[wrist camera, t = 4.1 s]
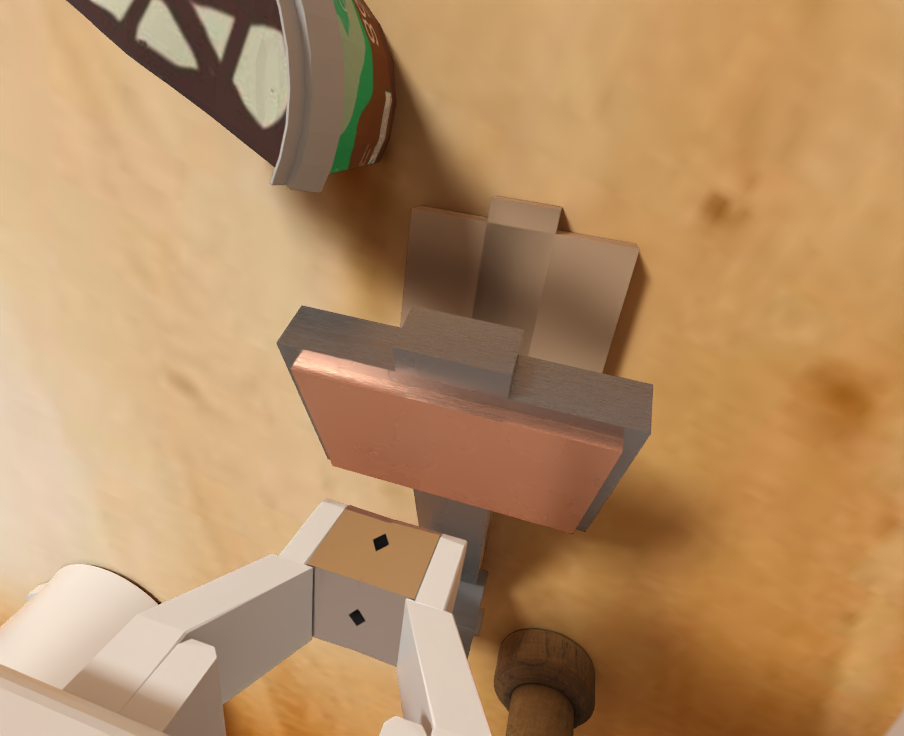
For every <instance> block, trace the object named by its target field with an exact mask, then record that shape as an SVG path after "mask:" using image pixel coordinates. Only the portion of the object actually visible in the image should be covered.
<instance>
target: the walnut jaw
mask: <svg viewBox="0 0 904 736" xmlns="http://www.w3.org/2000/svg"><path fill="white" fill-rule="evenodd" d="M561 211H562V207H560V206H554V205H548V204H542V203H536V202H530V201H524V200H518V199H512V198H507V197H501V196H495V197H493V198H491V201H490V207H489V214H488V217H482V216H477V215H471V214H466V213H460V212H454V211H449V210H443V209H438V208H432V207H426V206H419V207H415V208H411V218H410V229H409V239H408V250H407V260H406V271H405V281H404V291H403V302H402V312H401V323H400V328H402V326H403V324H404V322H405V320H406V318H407V316H408V314H409V312H410V310H411V308H412V306H417V307H421V308H426V309H430V310H435V311H440V312H444V313H449V314H454V315H458V316H463V317H467V318H472V319H477V320H481V321H486V322H491V323H495V324H500V325H504V326H509V327H514V328H518V329H523V330H524V334H523V339H522V345H521V350H520V355H524V356H528V357H532V358H537V359H541V360H546V361H550V362H555V363H559V364H563V365H568V366H572V367H577V368H581V369H586V370H590V371H595V372H599V373H602V372H603V369H604V365H605V362H606V359H607V355H608V352H609V349H610V346H611V342H612V339H613V336H614V332H615V329H616V326H617V323H618V319H619V316H620V313H621V309H622V306H623V303H624V299H625V296H626V293H627V290H628V286H629V283H630V280H631V276H632V273H633V270H634V266H635V263H636V260H637V257H638V253H639V250H640V249H639V248H638V246H637V244H634V243H628V242H623V241H617V240H612V239H606V238H600V237H595V236H589V235H584V234H578V233H572V232H567V231H561V230H557V229H558V225H559V220H560V216H561ZM493 513H494V512H493V511H491V514H490V519H489V525H488V530H487V536H486V541H485V547H484V552H485V548H486V544H487V539H488V535H489V530H490V526H491V521H492V517H493ZM484 552H483V557H484ZM482 561H483V558H482ZM481 566H482V562H481ZM481 566H480V570H479V574H478V578H477V582H476V585H473V584H470V583H466V582H463V581H460V583H459V587H458V591H457V595H456V600H455V604H454V608H453V612H452V614H453V616H454V619H455V622H456V625H457V628H458V631H459V635H460V638H461V641H462V644H463V647H464V650H465V654H466V657H467V659H468V655H469V651H470V646H471V642H472V638H473V635H476V636H479V632H480V628H481V623H482V619H483V615H484V609H481V608H480V604H481V600H482V596H483V591H484V587H485V583H486V579H487V574H488V572H487V571H484V570H481Z"/></svg>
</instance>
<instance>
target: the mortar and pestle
mask: <svg viewBox="0 0 904 736" xmlns="http://www.w3.org/2000/svg"><path fill="white" fill-rule="evenodd" d="M494 688H495V692H496V694H497V696H498V698H499V700H500V701H501V702H502V704H503V705H504V706H505V707H506V709H507V710H508V712H509V716H508V723H507V730H506V736H573V729H575V728H576V727H577V726H579V725H581V724H583V723H585V722H586V721H587V720H588V719H589V718H590V717H591V715H592V713H593V711H594V705H595V672H594V667H593V665H592V662H591V660H590V658H589V656H588V655H587V654H586V652H585V651H584V650H583V649H582V648H581V647H580V646H578V645H577V644H576V643H575V642H573V641H571V640H570V639H568V638H566V637H564V636H562V635H560V634H557V633H555V632H551V631H547V630H540V629H527V630H526V629H525V630H520V631H517V632H514V633H512V634H510V635H509V636H507V637H506V638H505V640H504V641H503V642H502V644H501V646H500V649H499V654H498V660H497V666H496V671H495V676H494Z"/></svg>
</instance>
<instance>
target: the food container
mask: <svg viewBox="0 0 904 736" xmlns="http://www.w3.org/2000/svg"><path fill="white" fill-rule="evenodd" d="M67 1H68V2H69V3H70V4H71V5H72V6H74V7H75V8H76V9H77V10H78V11H79V12H81V13H82V14H83V15H84V16H85V17H86V18H87V19H88V20H89V21H91V22H92V23H93V24H94V25H95V26H96V27H97V28H98V29H99V30H100V31H101V32H102V33H104V34H105V35H106V36H107V37H108V38H109V39H110V40H112V41H113V42H114V43H115V44H116V45H117V46H118V47H120V48H121V49H122V50H123V51H124V52H125V53H126V54H127V55H129V56H130V57H131V58H133V59H134V60H135V61H137V62H138V63H139V64H141V65H142V66H144V67H145V68H146V69H148V70H149V71H150V72H152V73H153V74H154V75H156V76H157V77H159V78H160V79H161V80H163V81H164V82H166V83H167V84H169V85H170V86H171V87H173V88H174V89H175V90H177V91H178V92H179V93H181V94H182V95H183V96H185V97H186V98H187V99H189V100H190V101H191V102H193V103H194V104H195V105H197V106H198V107H199V108H201V109H202V110H203V111H205V112H206V113H207V114H209V115H210V116H211V117H212V118H214V119H215V120H216V121H217V122H219V123H220V124H221V125H222V126H224V127H225V128H226V129H227V130H229V131H230V132H231V133H232V134H234V135H235V136H236V137H237V138H239V139H240V140H241V141H242V142H244V143H245V144H246V145H247V146H249V147H250V148H251V149H253V150H254V151H255V152H256V153H258V154H259V155H260V156H261V157H263V158H264V159H265V160H266V161H268V162H269V163H270V164H271V165H273V166H274V167H275V169H274V172H273V175H272V178H271V180H270V183H269V184H271V185H286V186H287V187H288V188H290V189H291V190H299V191H308V192H318V193H321V192H322V189H323V187H324V185H325V182H326V180H327V177H328V175H329V174H331V173H335V172H339V171H344V170H348V169H352V168H356V167H360V166H365V165H369V164H373V163H377V162H379V161H380V158H381V156H382V154H383V152H384V150H385V148H386V145H387V143H388V141H389V139H390V134H391V128H392V123H393V117H394V112H395V106H396V91H395V78H394V65H393V60H392V57H391V54H390V52H389V49H388V46H387V43H386V40H385V37H384V34H383V31H382V29H381V26H380V24H379V22H378V21H377V19H376V18H375V16H374V15H373V13H372V12H371V11H370V9H369V8H368V6H367V5H366V3H365V2H364V0H67Z"/></svg>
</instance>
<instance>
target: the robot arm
mask: <svg viewBox="0 0 904 736" xmlns="http://www.w3.org/2000/svg"><path fill="white" fill-rule="evenodd" d="M466 549H467V541H466V540H463V539H460V538H456V537H453V536H449V535H446V534H442V533H439V532H436V531H432V530H429V529H425V528H422V527H418V526H415V525H412V524H408V523H405V522H401V521H398V520H393V519H390V518H387V517H384V516H381V515H378V514H375V513H372V512H369V511H366V510H363V509H360V508H357V507H354V506H351V505H350V506H349V505H346V504H343V503H340V502H337V501H334V500H331V499H328V498H327V499H325V500H324V501H322V502H320V504H319V505H318V506H317V507H316V509H315V510H314V511H313V512H312V514H311V515H310V516H309V518H308V519H307V520H306V521H305V523H304V524H303V525H302V527H301V528H300V529H299V530H298V532H297V533H296V534H295V535H294V537H293V538H292V539H291V541H290V542H289V543H288V544H287V546H286V547H285V548H284V550H283V551H282V552H281V553H280V555H279V556H278V555H274V554H270V555H268V556H265V557H263V558H261V559H259V560H257V561H254V562H252V563H250V564H248V565H245V566H243V567H241V568H239V569H237V570H234V571H232V572H230V573H228V574H226V575H223V576H221V577H219V578H217V579H214V580H212V581H210V582H208V583H206V584H203V585H201V586H199V587H197V588H195V589H192V590H190V591H188V592H186V593H184V594H181V595H179V596H177V597H175V598H172V599H170V600H168V601H166V602H164V603H161V604H159V605H158V604H157V603H156V602H155V601H154V600H153V599H152V598H151V597H150V596H149V595H147V594H146V593H145V592H144V591H142V590H141V589H140V588H138V587H137V586H135V585H134V584H132V583H131V582H129V581H128V580H126V579H124V578H122V577H121V576H119V575H117V574H115V573H112V572H110V571H108V570H105V569H102V568H99V567H95V566H91V565H85V564H73V565H68V566H65V567H63V568H61V569H60V570H59V571H58V572H57V573H56V574H55V575H54V576H53V578H52V579H51V580H50V581H49V582H48V583H44V584H41V585H38V586H37V587H36V588H35V589H33V590H32V591H31V592H30V593H29V594H28V595H27V601H28V602H27V603H26V604H25V605H24V606H23V607H22V608H21V609H20V610H19V611H17V612H16V613H15V614H14V615H13V616H12V617H11V618H10V619H9V620H8V621H7V622H6V623H4V624H3V625H2V626H1V627H0V736H226V728H225V720H224V712H223V704H224V703H226V702H227V701H229V700H230V699H231V698H233V697H234V696H235V695H237V694H238V693H240V692H241V691H242V690H244V689H245V688H246V687H248V686H249V685H250V684H252V683H253V682H255V681H256V680H257V679H259V678H260V677H261V676H263V675H264V674H266V673H267V672H268V671H270V670H271V669H272V668H274V667H275V666H277V665H278V664H279V663H281V662H282V661H283V660H285V659H286V658H287V657H289V656H290V655H292V654H293V653H294V652H296V651H297V650H298V649H300V648H301V647H303V646H304V645H305V644H307V643H308V642H309V641H311V640H312V637H315V638H318V639H321V640H324V641H327V642H330V643H333V644H336V645H339V646H342V647H346V648H349V649H352V650H355V651H357V652H360V653H362V654H365V655H367V656H370V657H373V658H375V659H378V660H380V661H383V662H385V663H388V664H390V665H393V666H395V667H397V669H396V670H397V677H398V684H399V691H400V698H401V705H402V712H403V718H400V717H397V716H394V717H392V718H391V719H389V720H387V721H385V722H384V724H383V727H382V730H381V732H380V735H379V736H491V733H490V729H489V726H488V723H487V720H486V717H485V714H484V710H483V707H482V704H481V701H480V698H479V695H478V691H477V688H476V685H475V682H474V679H473V676H472V673H471V669H470V666H469V663H468V660H467V657H466V654H465V650H464V647H463V644H462V641H461V638H460V635H459V631H458V628H457V625H456V622H455V619H454V616H453V614H452V612H453V608H454V604H455V600H456V595H457V591H458V587H459V583H460V578H461V573H462V568H463V563H464V559H465V554H466Z"/></svg>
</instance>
